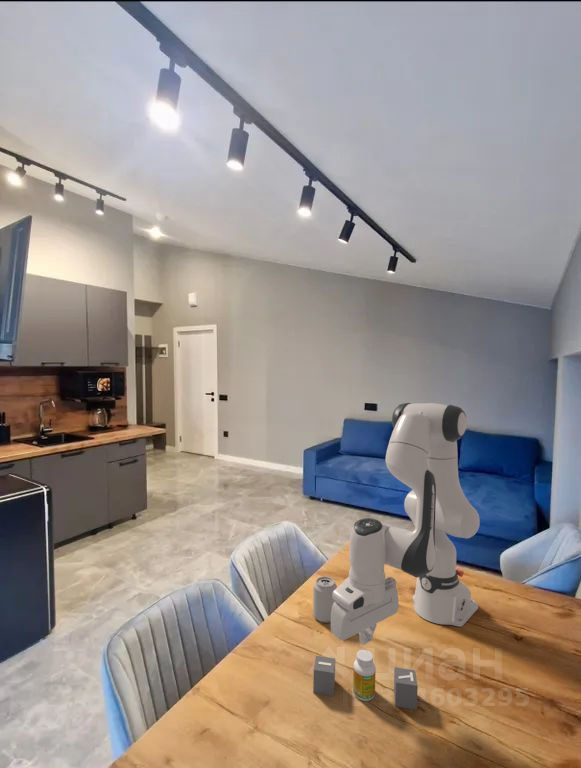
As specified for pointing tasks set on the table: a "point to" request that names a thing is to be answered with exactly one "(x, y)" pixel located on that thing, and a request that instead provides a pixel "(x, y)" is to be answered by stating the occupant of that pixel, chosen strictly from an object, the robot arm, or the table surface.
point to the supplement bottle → (364, 676)
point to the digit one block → (324, 675)
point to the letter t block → (405, 688)
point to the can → (323, 598)
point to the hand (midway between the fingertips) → (365, 641)
